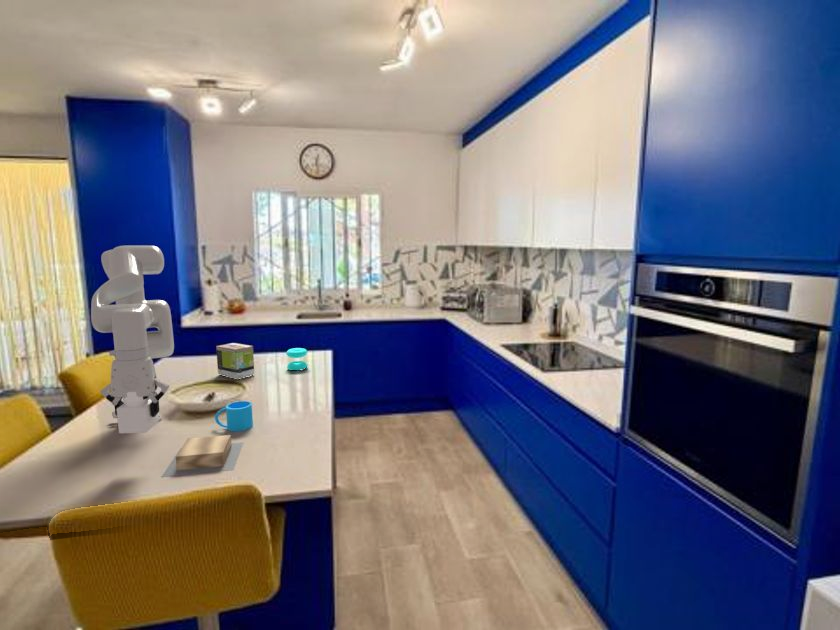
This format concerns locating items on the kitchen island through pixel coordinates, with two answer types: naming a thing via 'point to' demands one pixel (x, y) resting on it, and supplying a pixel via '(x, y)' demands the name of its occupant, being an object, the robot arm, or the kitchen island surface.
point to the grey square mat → (227, 466)
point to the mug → (237, 416)
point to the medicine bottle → (135, 414)
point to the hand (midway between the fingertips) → (138, 415)
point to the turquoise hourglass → (296, 354)
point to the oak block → (204, 452)
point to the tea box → (235, 360)
